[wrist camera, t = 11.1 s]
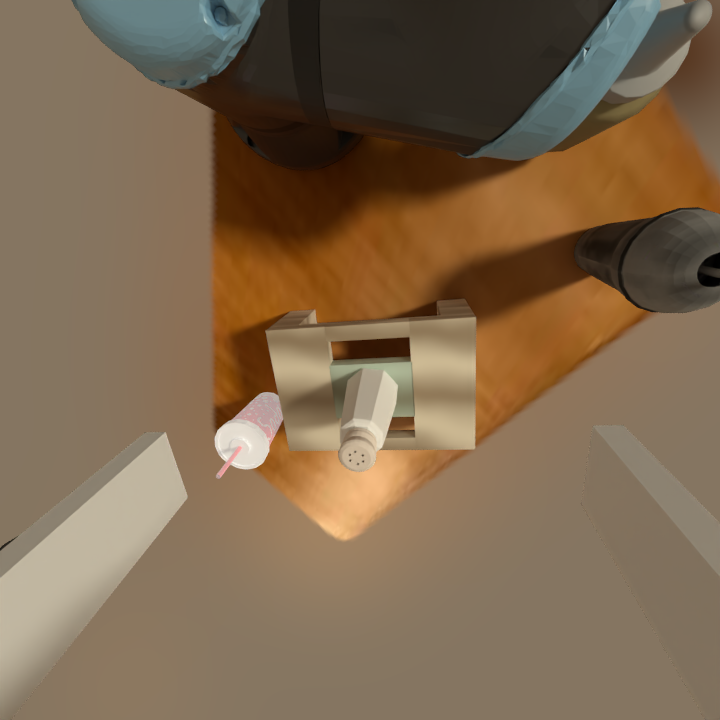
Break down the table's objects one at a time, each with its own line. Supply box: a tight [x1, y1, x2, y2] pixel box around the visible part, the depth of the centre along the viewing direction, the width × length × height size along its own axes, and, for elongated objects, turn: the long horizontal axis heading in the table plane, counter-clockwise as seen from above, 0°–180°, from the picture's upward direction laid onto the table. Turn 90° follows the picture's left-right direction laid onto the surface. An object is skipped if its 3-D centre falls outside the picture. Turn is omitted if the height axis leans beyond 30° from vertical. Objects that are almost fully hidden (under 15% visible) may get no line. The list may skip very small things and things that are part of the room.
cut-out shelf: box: [265, 299, 476, 451], centre depth 40 cm, size 14×20×8 cm
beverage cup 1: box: [215, 392, 283, 478], centre depth 42 cm, size 6×6×14 cm
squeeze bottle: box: [547, 0, 712, 152], centre depth 24 cm, size 8×8×18 cm
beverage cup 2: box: [574, 207, 720, 313], centre depth 27 cm, size 7×7×20 cm
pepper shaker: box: [338, 368, 398, 472], centre depth 32 cm, size 5×5×11 cm
